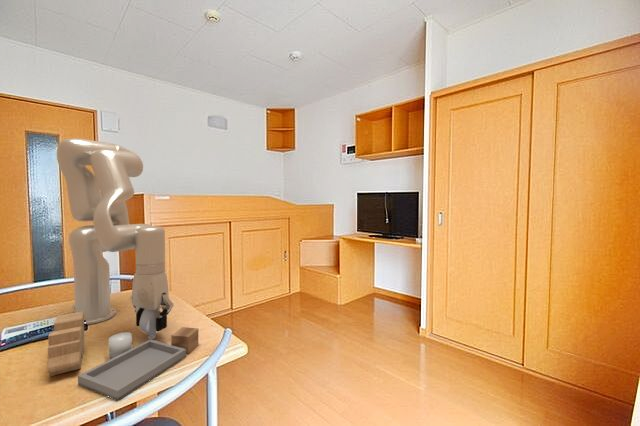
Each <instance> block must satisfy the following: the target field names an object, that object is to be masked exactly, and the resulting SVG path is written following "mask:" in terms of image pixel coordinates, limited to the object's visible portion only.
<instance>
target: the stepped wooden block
mask: <svg viewBox="0 0 640 426" xmlns="http://www.w3.org/2000/svg"><path fill="white" fill-rule="evenodd" d="M47 337H48V338H47V340H48V341H47V342H48V347H47V358H48V359H47V367H46V368H47V370H46V371H47V374H49V377H53V376H56V375H60V374H64V373H68V372H72V371H76V370H80V369H82V360H83V357H84V351H85V325H84V311H83V312H77V313H75V312H71V313H66V314H59V315H57V316H56V318H55V320H54V322H53V331H51V332H50V333H48V336H47Z"/></svg>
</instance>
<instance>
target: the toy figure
mask: <svg viewBox="0 0 640 426" xmlns="http://www.w3.org/2000/svg"><path fill="white" fill-rule="evenodd" d="M156 318H158V316H157V314H156V311H155V310H148V309H144V311H143V313H142V315H141V318H140V322H139V326H138V327H139V329H140V330H141V331H142V332H143V333H145V334H147V335H148V336H147V339H148V340H150V339H151V340H155V339H156V336H157V335H158V331H156Z"/></svg>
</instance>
